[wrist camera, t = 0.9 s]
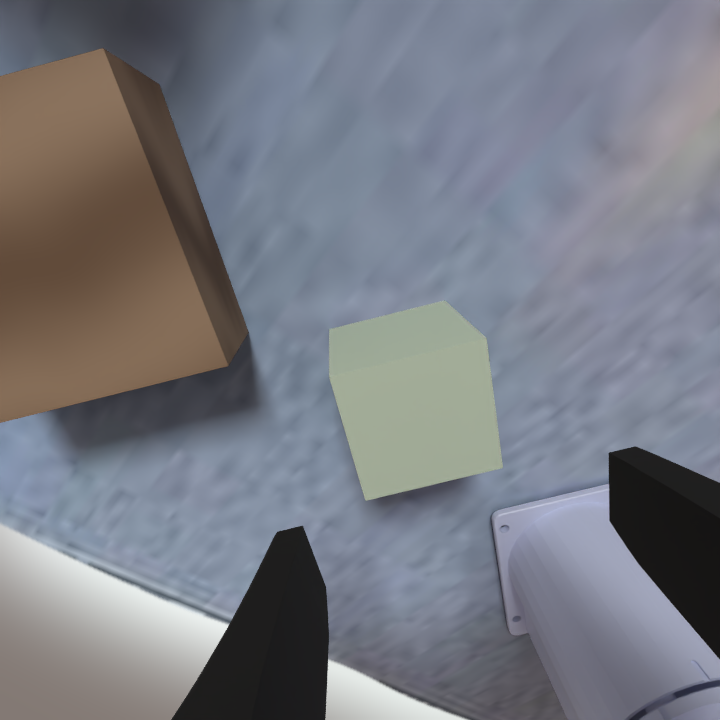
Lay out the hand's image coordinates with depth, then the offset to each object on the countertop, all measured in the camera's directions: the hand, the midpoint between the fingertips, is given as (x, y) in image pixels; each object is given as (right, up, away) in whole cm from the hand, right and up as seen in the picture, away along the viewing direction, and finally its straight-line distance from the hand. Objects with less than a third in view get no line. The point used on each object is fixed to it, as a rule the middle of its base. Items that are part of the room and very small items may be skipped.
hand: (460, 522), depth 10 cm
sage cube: (-1, +3, +9) cm, 9 cm away
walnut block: (-12, +8, +6) cm, 16 cm away
